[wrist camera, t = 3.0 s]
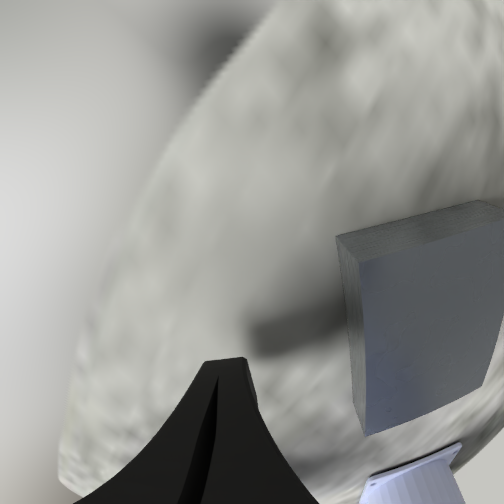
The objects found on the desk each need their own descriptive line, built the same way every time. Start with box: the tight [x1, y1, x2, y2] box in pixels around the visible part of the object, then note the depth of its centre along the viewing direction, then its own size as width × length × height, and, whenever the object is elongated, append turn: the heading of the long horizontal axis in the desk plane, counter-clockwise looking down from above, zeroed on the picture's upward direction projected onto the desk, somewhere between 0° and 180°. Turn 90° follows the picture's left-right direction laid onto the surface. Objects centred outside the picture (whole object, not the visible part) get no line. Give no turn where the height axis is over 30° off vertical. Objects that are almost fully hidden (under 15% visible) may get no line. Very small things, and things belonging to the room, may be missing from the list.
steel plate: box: [336, 200, 504, 436], centre depth 9 cm, size 8×6×2 cm
